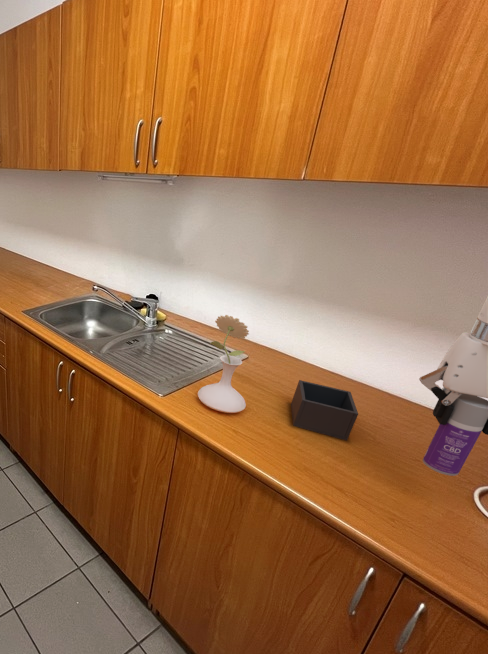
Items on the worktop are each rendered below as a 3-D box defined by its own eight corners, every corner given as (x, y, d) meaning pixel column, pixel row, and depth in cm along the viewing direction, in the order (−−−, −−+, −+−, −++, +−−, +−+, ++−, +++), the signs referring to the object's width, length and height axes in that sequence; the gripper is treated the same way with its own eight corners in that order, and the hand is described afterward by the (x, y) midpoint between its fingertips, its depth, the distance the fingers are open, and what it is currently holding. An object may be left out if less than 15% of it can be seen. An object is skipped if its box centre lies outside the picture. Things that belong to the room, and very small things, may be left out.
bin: (340, 417, 101) (350, 391, 98) (347, 440, 93) (358, 414, 90) (290, 404, 107) (299, 379, 104) (293, 425, 99) (302, 399, 96)
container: (431, 472, 73) (465, 405, 68) (416, 455, 77) (447, 390, 72) (465, 478, 72) (502, 410, 66) (448, 460, 76) (482, 395, 70)
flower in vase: (254, 413, 103) (280, 327, 94) (218, 420, 101) (241, 333, 91) (216, 386, 115) (236, 307, 105) (183, 392, 112) (200, 311, 103)
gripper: (577, 336, 63) (522, 428, 70) (426, 316, 71) (391, 401, 78) (609, 356, 57) (546, 455, 64) (441, 332, 66) (401, 422, 72)
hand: (461, 424), depth 71 cm, fingers closed on container, 4 cm apart
